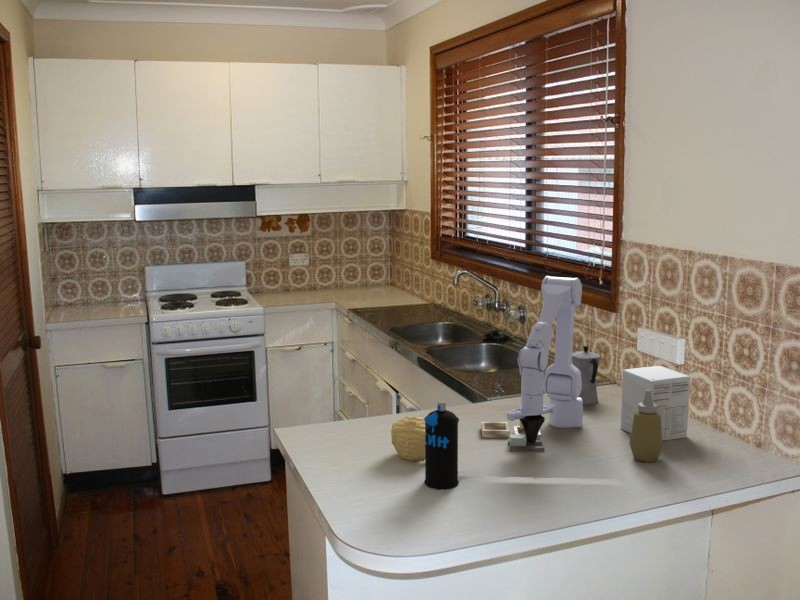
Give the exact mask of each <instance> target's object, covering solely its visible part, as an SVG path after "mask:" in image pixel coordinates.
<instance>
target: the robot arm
mask: <svg viewBox="0 0 800 600" xmlns="http://www.w3.org/2000/svg"><path fill="white" fill-rule="evenodd" d="M540 286H541V287H540V288H541V289H540V290H541V297H542V300H543V303H542V307H541V310H540V311H541V312H540V315H539V319H538V322H536V323H534V324H533V325H532V327H531V330H530V333H529V336H528V338H527V340H526V344H525V346H524V347H522V348H521V349H520V350H519V352H518V357H517V364H518V365H517V366H518V367H519V375H520V376H521V378H520V379H521V383H520V385H521V387H520V390H521V391H520V406H519V408H518V407H517V408H516V409H513V410H511V411H507V412H506V420H508V421H510V422H515V421H516V420H519V422H520V421H521V423H522V425H523V427H524V430H525V433H526V437H527V442H529V443H531V444H534V443H535V442H536V438H537V435H538V432H539V430H540V431H541V428H542V426H543V424H544V423H545V418H546V417H544V416H542V415H546V414H548V425H550V426H552V427H555V428H563V429H564V428H583V422H584V421H583V420H584V405H583V401H582V398H581V397H578V396H579V395H580V393H581V389H582V380H581V371H580V370H579V369H577V368H576V367H575V366H574V365H573V364H572V353H573V346H574V345H573V344H574V329H575V328H574V327H575V312H576V308H577V307H580V306H581V303H582V294H583V285H582V282H581V280H580V279H579V277H561V276H550V275H546V276H545V277H544V278H543V279H542V281H541V285H540ZM555 320H556V324H555V325H556V327H555V344H554V359H553V360H554V362H553V363H552V364H551V365H549V366H548V361H549V355H550V351H549V347H550V344H551V341H552V339H553V336H554V329H553V328H552V326H553V324H554V322H555ZM547 366H548V367H547ZM544 393H545V394H546V396H547V398H549V401H548V404H544Z"/></svg>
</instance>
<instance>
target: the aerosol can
mask: <svg viewBox="0 0 800 600" xmlns="http://www.w3.org/2000/svg"><path fill="white" fill-rule="evenodd" d="M446 404H447V402H446V401H445V400H438V401H437V409H436V410H433V411H431V412H430V413H428V414H427V415H426V416H425V417H423V418H424V421H425V458H424V459H425V460H424V461H425V463H424V465H425V468H424V470H425V472H424V473H425V475H424V478H425V479H424V485H425V486H426V487H428V488H431V489H433V488H434V489H433V490H441V489H444V490H450V489H451V490H452V489H454V488H456V487H457V486H458V485H459V483H460V481H459V479H458V478H459V477H458V476H459V475H458V473H459V472H458V471H459V470H458V469H459V463H458V462H459V436H458V435H459V422H460V418H459V417H458V416H457V415H456V414H455V413H454V412H453V411H450V410H447V405H446Z"/></svg>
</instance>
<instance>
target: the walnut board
mask: <svg viewBox="0 0 800 600" xmlns="http://www.w3.org/2000/svg"><path fill="white" fill-rule="evenodd" d="M507 444H508V445H509V452H545V448H546V447H545V446H543V440H542V439H541V440H536V442H535V443H534V444H531V443H529V442H527V440H526V446H510V439H508V440H507Z"/></svg>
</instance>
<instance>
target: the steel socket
mask: <svg viewBox="0 0 800 600" xmlns="http://www.w3.org/2000/svg"><path fill="white" fill-rule="evenodd" d="M512 428H513V434H525V435H526V433H520V425H514V426H513V427H512ZM526 440H527V437H526ZM536 440H541V441H542V433H541V429H540V430H539V432H538V435H537V438H536Z"/></svg>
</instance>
